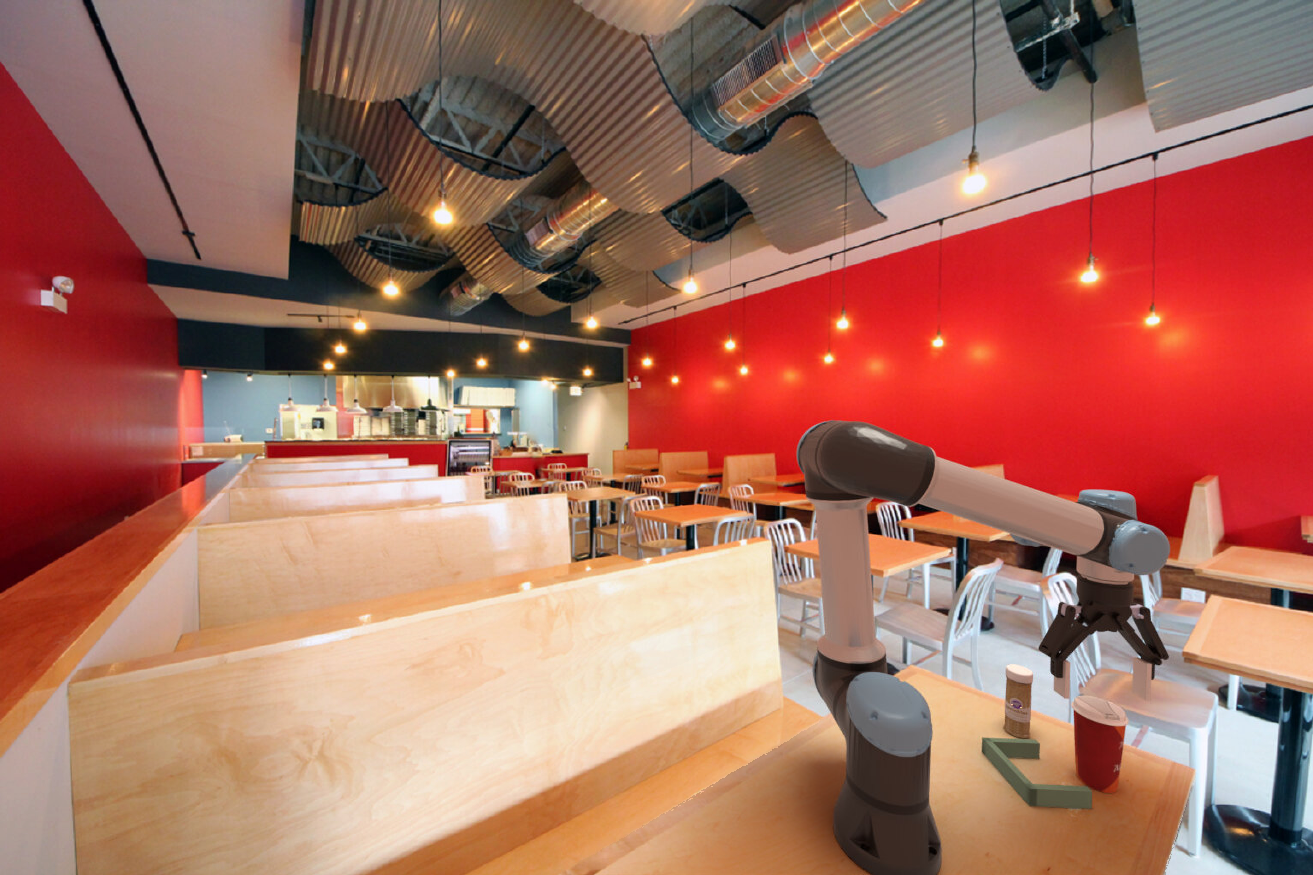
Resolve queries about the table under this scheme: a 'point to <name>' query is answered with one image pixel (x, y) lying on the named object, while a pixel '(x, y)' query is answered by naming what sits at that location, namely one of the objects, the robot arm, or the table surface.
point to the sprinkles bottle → (1018, 700)
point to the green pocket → (1031, 793)
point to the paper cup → (1098, 742)
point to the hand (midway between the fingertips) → (1101, 695)
